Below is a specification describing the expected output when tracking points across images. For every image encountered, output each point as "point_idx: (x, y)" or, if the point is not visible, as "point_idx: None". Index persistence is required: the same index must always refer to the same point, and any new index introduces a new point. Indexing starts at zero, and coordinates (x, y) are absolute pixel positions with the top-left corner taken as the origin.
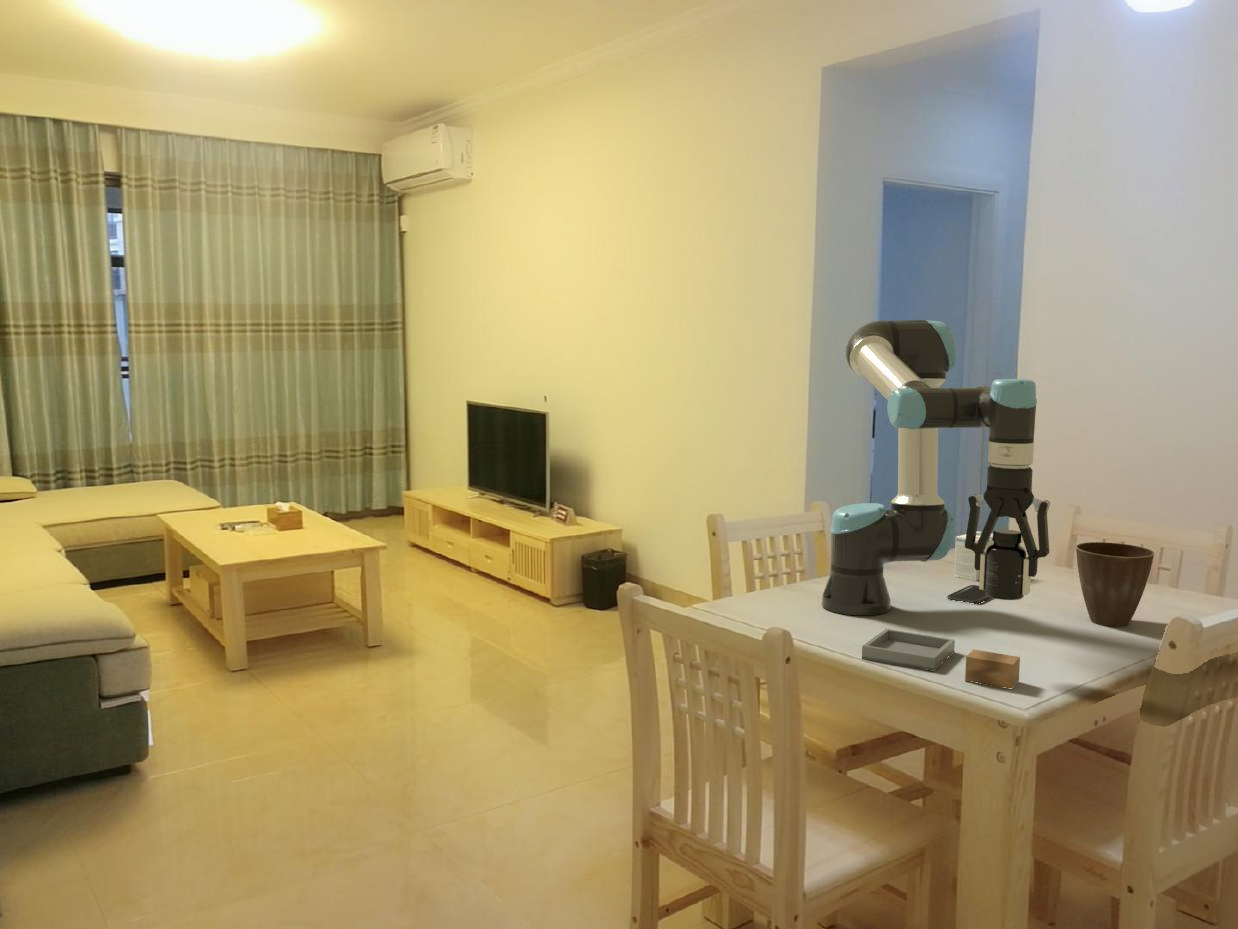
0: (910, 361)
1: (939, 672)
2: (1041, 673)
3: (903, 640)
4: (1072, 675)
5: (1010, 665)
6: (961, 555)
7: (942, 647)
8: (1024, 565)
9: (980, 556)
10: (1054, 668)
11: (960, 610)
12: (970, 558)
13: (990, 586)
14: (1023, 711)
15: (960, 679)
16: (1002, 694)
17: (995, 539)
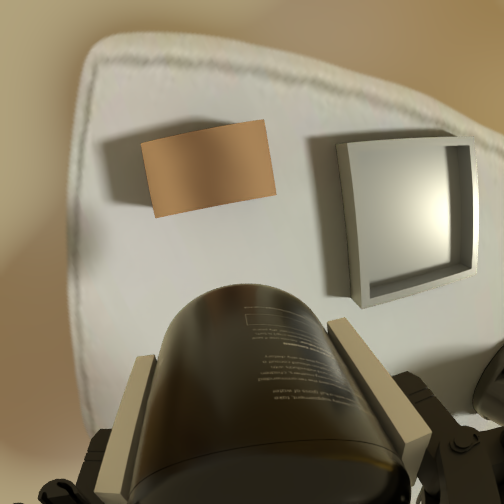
0: None
1: (324, 148)
2: (157, 295)
3: (440, 270)
4: (113, 322)
5: (148, 142)
6: None
7: (364, 236)
8: (121, 461)
9: (424, 431)
10: (155, 340)
11: None
12: None
13: (288, 308)
14: (95, 53)
15: (269, 133)
16: (158, 105)
17: None
